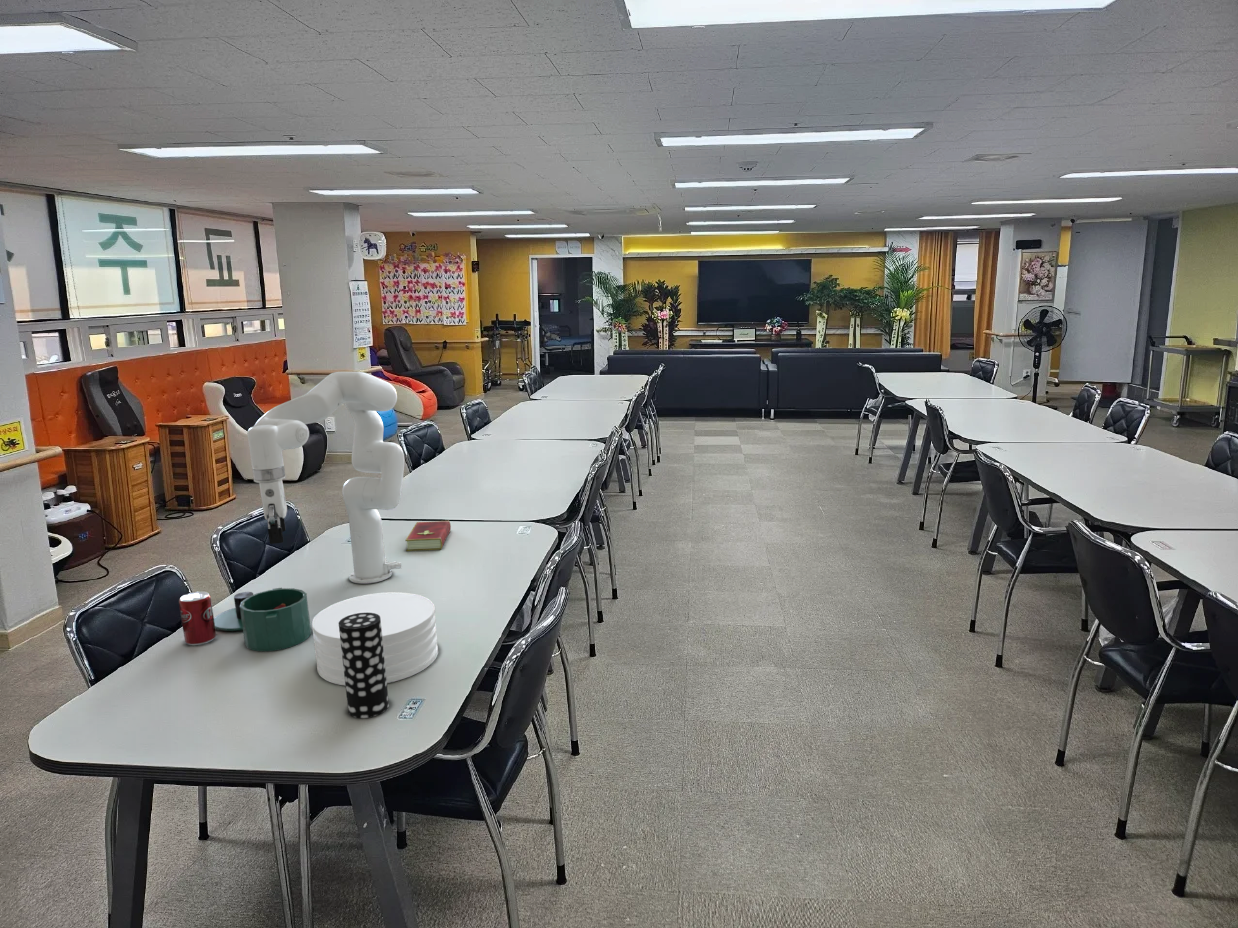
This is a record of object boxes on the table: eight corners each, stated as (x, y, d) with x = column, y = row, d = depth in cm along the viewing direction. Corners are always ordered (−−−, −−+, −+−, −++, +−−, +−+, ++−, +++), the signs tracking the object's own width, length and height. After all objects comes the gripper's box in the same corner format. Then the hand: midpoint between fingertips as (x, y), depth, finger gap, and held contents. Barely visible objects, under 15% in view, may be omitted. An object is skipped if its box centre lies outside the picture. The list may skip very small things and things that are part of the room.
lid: (282, 604, 234) (279, 580, 232) (277, 626, 218) (274, 601, 216) (217, 613, 229) (213, 588, 227) (208, 636, 213) (204, 610, 211)
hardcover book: (451, 531, 298) (450, 519, 298) (442, 549, 278) (441, 537, 277) (417, 532, 298) (416, 521, 297) (406, 551, 277) (405, 539, 276)
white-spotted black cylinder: (353, 699, 179) (343, 613, 174) (392, 697, 179) (383, 611, 175) (344, 719, 170) (334, 629, 166) (384, 716, 171) (375, 627, 167)
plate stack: (373, 697, 179) (369, 648, 177) (291, 668, 194) (286, 623, 191) (462, 648, 202) (458, 604, 200) (382, 625, 217) (378, 585, 214)
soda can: (185, 648, 206) (178, 603, 204) (185, 638, 213) (178, 594, 210) (217, 642, 210) (210, 598, 207) (216, 632, 216) (209, 589, 213)
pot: (312, 618, 223) (307, 581, 221) (309, 649, 204) (304, 610, 202) (250, 626, 219) (245, 589, 216) (240, 660, 199) (235, 619, 197)
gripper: (282, 479, 203) (291, 545, 207) (286, 464, 219) (295, 525, 223) (249, 483, 200) (259, 549, 204) (256, 467, 216) (265, 529, 220)
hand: (278, 537), depth 213 cm, fingers open, 9 cm apart
